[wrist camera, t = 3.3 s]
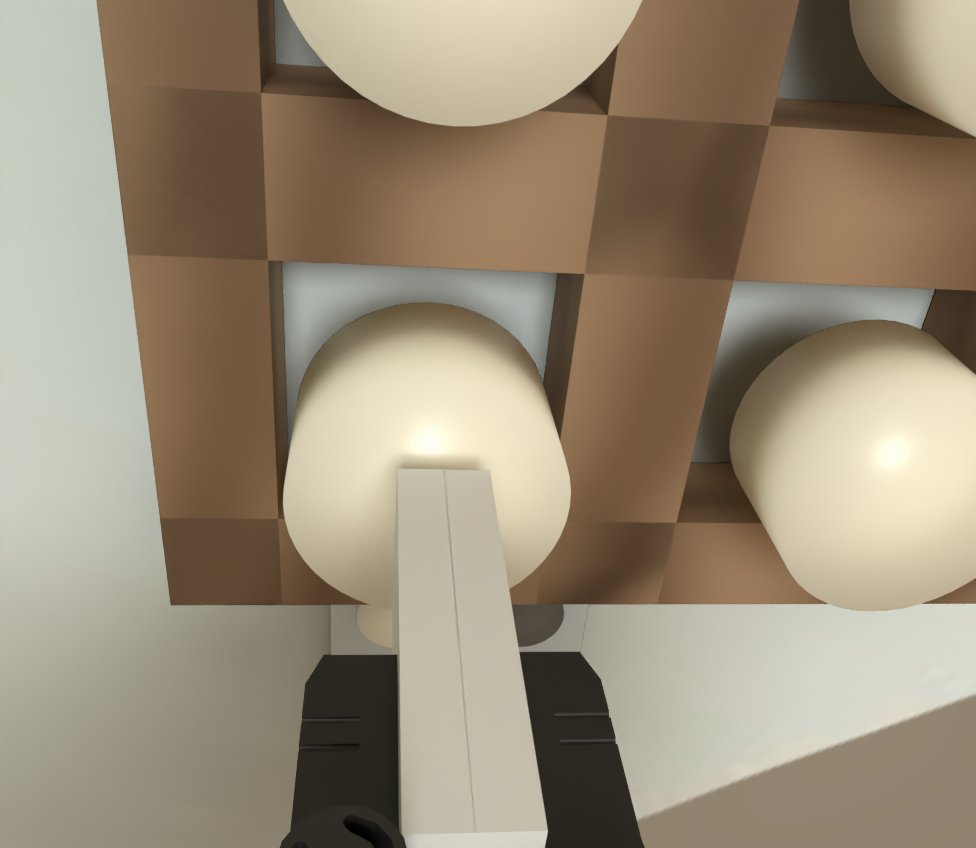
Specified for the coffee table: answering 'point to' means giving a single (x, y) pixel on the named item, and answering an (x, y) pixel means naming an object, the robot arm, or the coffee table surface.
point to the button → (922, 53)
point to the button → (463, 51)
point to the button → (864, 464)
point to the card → (533, 622)
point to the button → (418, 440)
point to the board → (510, 269)
